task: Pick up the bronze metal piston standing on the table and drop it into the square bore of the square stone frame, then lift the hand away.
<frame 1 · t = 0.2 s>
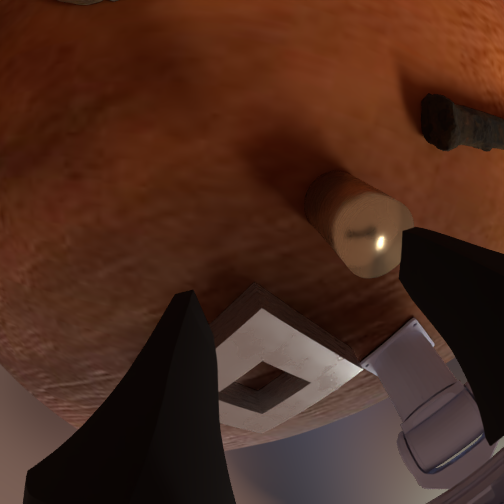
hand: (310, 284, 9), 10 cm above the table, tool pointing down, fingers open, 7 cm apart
piston: (334, 202, 18), on the table
hand tool: (481, 122, 17), on the table
square stone frame: (256, 366, 25), on the table
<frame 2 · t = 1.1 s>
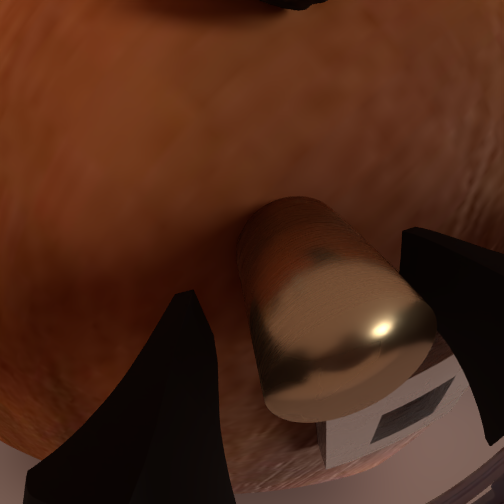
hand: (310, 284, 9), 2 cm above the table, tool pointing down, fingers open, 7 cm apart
piston: (293, 251, 11), on the table
square stone frame: (396, 386, 18), on the table
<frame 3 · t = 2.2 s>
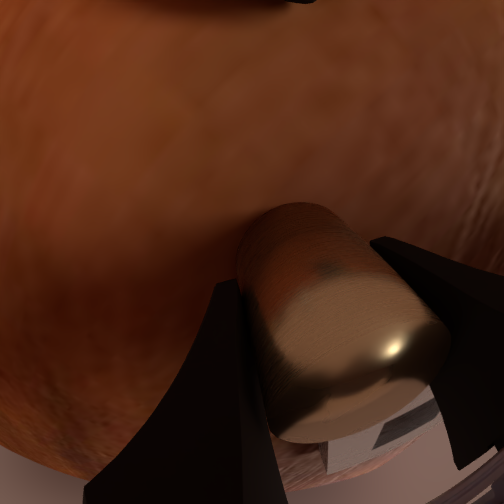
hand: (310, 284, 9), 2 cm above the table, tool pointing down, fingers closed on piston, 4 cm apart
piston: (296, 259, 10), on the table, touching gripper
square stone frame: (398, 392, 18), on the table
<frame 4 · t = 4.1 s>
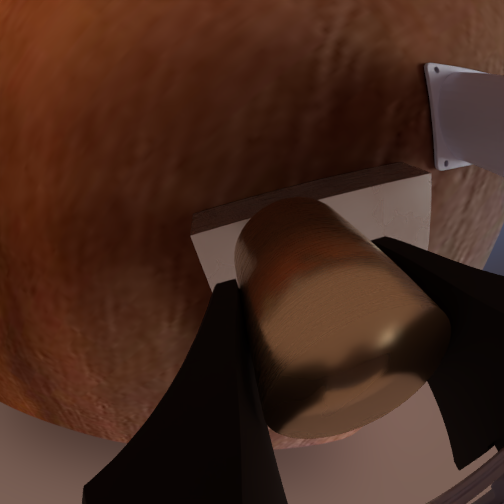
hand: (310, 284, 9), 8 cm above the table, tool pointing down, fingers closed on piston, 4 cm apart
piston: (294, 255, 10), point 7 cm above the table, touching gripper
square stone frame: (322, 277, 19), on the table
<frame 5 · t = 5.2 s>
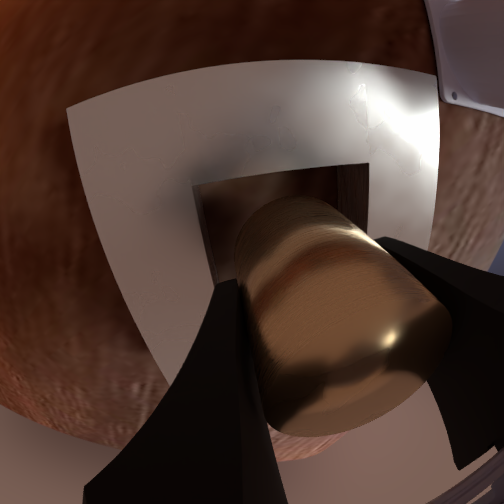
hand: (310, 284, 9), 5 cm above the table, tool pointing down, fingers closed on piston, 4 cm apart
piston: (294, 253, 10), point 3 cm above the table, touching gripper
square stone frame: (275, 223, 13), on the table
when the fingers open (5 cm above the table, at t = 6.1 s): piston drops 3 cm, resting in square stone frame.
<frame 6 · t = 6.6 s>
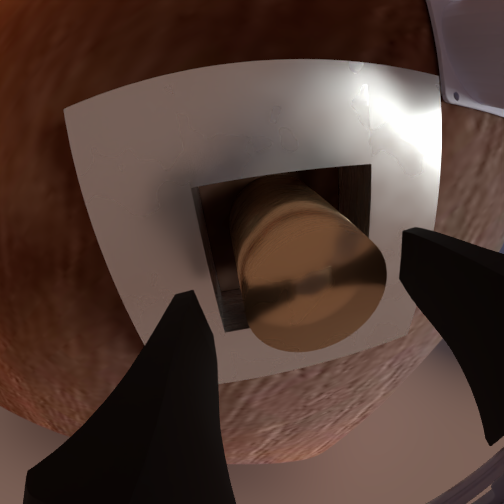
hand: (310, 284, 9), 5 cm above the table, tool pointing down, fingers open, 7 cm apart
piston: (276, 220, 13), resting in square stone frame
square stone frame: (276, 225, 13), on the table
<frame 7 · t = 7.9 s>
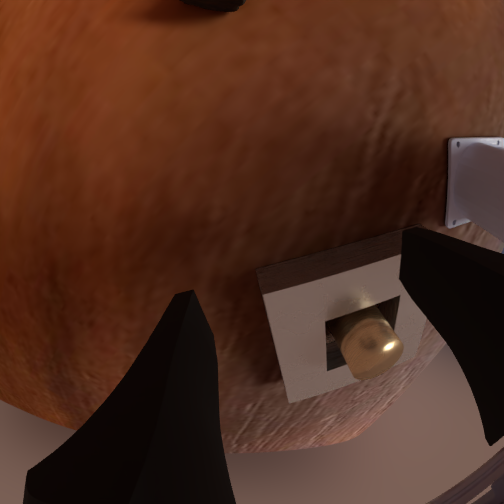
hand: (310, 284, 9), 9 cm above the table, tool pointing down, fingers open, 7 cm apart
piston: (348, 311, 23), resting in square stone frame
square stone frame: (348, 313, 23), on the table
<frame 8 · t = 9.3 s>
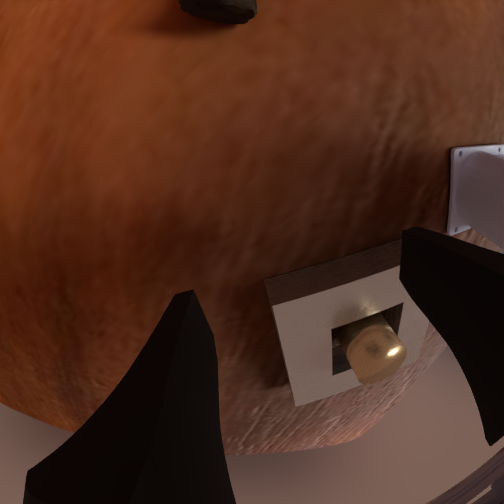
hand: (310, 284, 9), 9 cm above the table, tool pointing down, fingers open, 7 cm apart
piston: (353, 317, 23), resting in square stone frame
square stone frame: (353, 319, 23), on the table
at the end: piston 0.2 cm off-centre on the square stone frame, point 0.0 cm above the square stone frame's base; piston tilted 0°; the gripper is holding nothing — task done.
